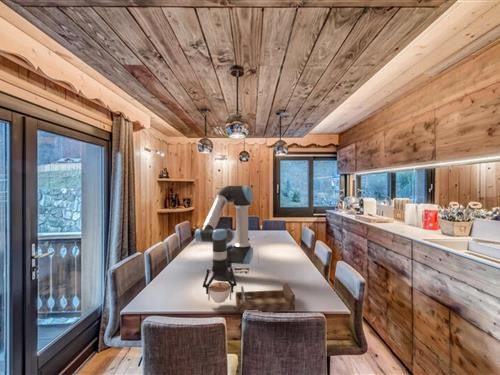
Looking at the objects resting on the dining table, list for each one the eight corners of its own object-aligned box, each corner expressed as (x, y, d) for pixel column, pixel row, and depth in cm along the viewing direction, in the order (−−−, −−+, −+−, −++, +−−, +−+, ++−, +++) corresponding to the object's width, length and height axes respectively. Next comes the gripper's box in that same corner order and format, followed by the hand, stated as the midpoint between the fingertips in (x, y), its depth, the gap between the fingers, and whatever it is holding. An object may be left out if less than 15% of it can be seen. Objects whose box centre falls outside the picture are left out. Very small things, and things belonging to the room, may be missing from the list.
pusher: (242, 309, 134) (243, 296, 134) (241, 298, 147) (241, 286, 147) (252, 308, 134) (252, 295, 134) (249, 298, 147) (249, 286, 147)
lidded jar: (230, 295, 145) (230, 278, 145) (229, 304, 134) (229, 286, 134) (211, 295, 144) (210, 279, 144) (208, 305, 134) (208, 287, 133)
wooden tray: (237, 313, 132) (237, 297, 132) (235, 299, 148) (235, 285, 148) (294, 310, 135) (294, 294, 135) (287, 296, 151) (287, 283, 151)
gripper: (197, 261, 134) (197, 303, 134) (241, 259, 136) (241, 301, 137) (198, 257, 141) (198, 297, 142) (240, 255, 144) (240, 295, 144)
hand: (219, 299), depth 139 cm, fingers closed on lidded jar, 11 cm apart
